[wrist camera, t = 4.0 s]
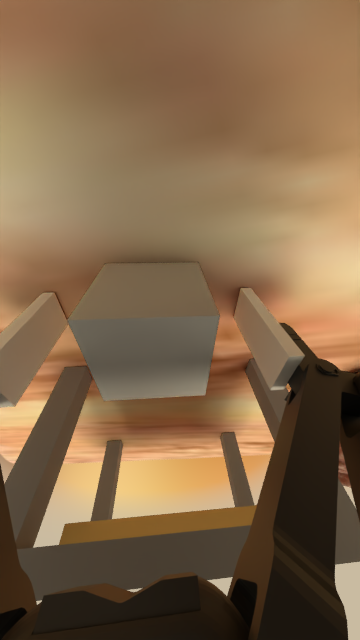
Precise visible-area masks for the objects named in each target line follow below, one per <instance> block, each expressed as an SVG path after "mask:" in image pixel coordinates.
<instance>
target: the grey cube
mask: <svg viewBox="0 0 360 640" xmlns="http://www.w3.org/2000/svg"><path fill="white" fill-rule="evenodd" d="M219 317H220V315H219V312H218V310H217V307H216V305H215V302H214V300H213V297H212V295H211V292H210V290H209V288H208V285H207V283H206V280H205V278H204V275H203V273H202V270H201V268H200V265H199V263H198V262H182V263H105V264H104V266H103V267H102V269H101V270H100V272H99V273H98V275H97V276H96V278H95V279H94V281H93V282H92V284H91V285H90V287H89V288H88V290H87V291H86V293H85V294H84V296H83V297H82V299H81V300H80V302H79V303H78V305H77V306H76V308H75V309H74V311H73V312H72V314H71V315H70V317H69V318H68V320H67V321H68V323H69V325H70V328H71V330H72V332H73V334H74V336H75V339H76V341H77V343H78V345H79V347H80V350H81V352H82V354H83V356H84V358H85V361H86V363H87V365H88V367H89V369H90V372H91V374H92V376H93V378H94V380H95V383H96V385H97V387H98V389H99V391H100V394H101V396H102V398H103V400H104V401H114V400H131V399H149V398H166V397H183V396H201V395H205V394H206V388H207V383H208V378H209V372H210V367H211V361H212V356H213V350H214V345H215V339H216V334H217V328H218V323H219Z"/></svg>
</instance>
